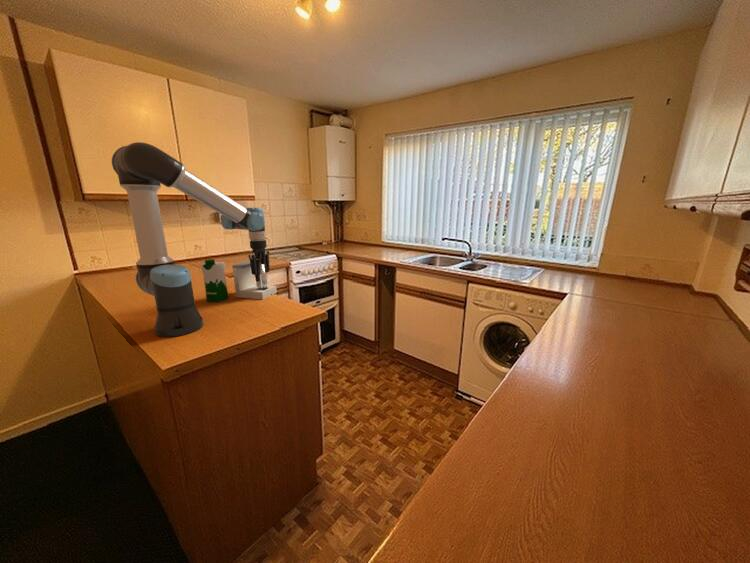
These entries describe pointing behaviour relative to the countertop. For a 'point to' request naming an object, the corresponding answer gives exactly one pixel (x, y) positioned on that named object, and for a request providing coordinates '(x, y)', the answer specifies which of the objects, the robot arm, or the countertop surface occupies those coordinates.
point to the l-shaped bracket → (249, 283)
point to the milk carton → (214, 280)
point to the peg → (263, 277)
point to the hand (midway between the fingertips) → (262, 285)
